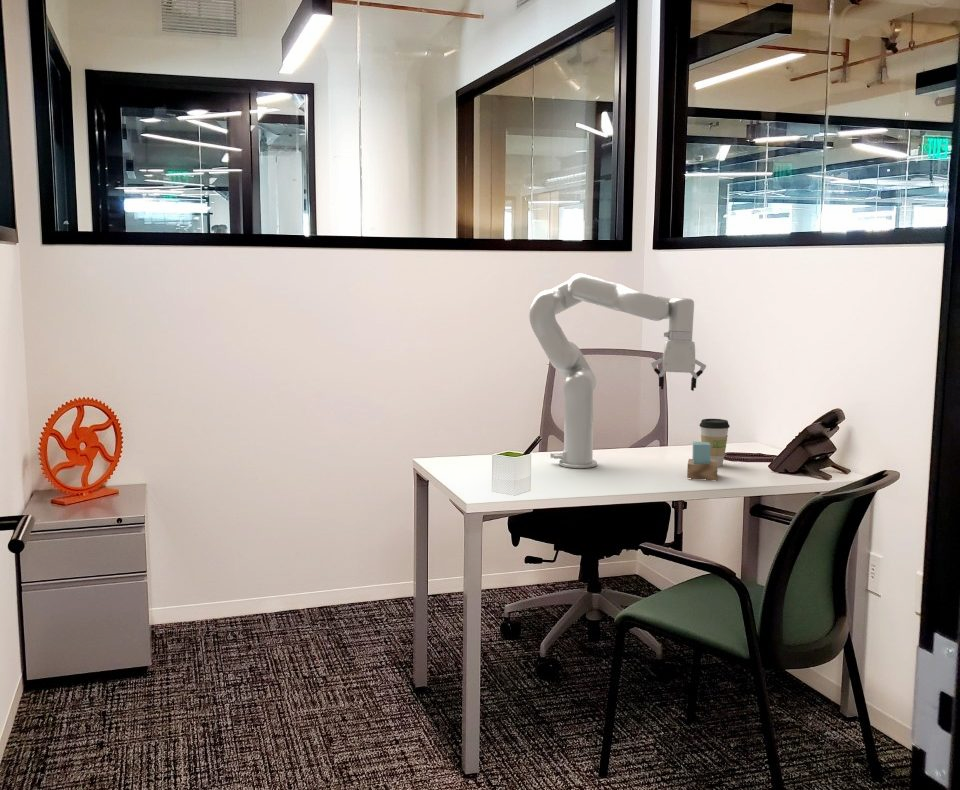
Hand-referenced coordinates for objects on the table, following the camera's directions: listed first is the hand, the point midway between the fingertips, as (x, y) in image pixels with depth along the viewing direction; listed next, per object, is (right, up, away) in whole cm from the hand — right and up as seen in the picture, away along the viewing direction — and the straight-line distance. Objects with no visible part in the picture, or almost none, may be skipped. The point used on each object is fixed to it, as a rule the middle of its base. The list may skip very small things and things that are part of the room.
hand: (677, 389), depth 299 cm
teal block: (+6, -23, -8) cm, 25 cm away
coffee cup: (+14, -25, +11) cm, 31 cm away
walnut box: (+6, -28, -8) cm, 30 cm away
